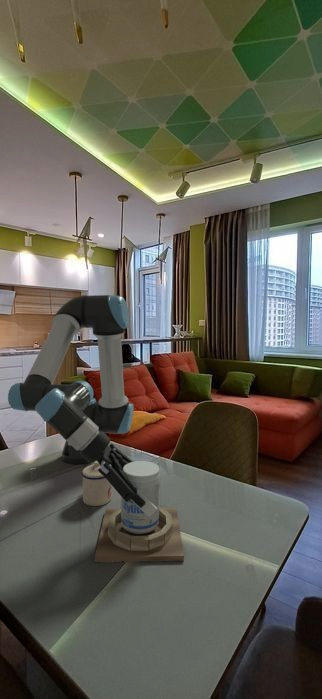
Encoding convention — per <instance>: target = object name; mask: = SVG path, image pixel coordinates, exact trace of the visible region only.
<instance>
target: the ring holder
mask: <svg viewBox="0 0 322 699" xmlns="http://www.w3.org/2000/svg"><path fill="white" fill-rule="evenodd" d="M178 515H179V514H178V509H177V507H162V506H160V505H159V523H158V525H157V527H156V528H155V529H154V530H153V531H151V532H148V533H144V534H134V533H130V532H128V531H127V530H125V529H124V528H123V526H122V524H121V507H119V508H105V511H104V515H103V519H102V525H101V529H100V532H99V537H98V542H97V544H96V551H95V553H94V554H95V555H94V563H95V562H100V563H113V562H112V561H116V562H115V563H122V562H121V561H124V562H123V563H133V562H135V563H136V562H137V563H138V562H139V563H140V561H151V562H183V561H185V555H184V553H185V552H184V548H183V541H182V535H181V529H180V528H181V527H180V522H179V516H178ZM109 561H110V562H109Z"/></svg>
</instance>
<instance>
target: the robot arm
mask: <svg viewBox="0 0 322 699" xmlns="http://www.w3.org/2000/svg"><path fill="white" fill-rule="evenodd" d="M126 302H127V301H126V300H125V298H124V297H122V296H121V295H114V294H102V295H101V294H100V295H86V294H85V295H78V296H76V297H74V298H71V299H70V300H68V301H67V302H65V303H64V304H63V305H62V306H61V307H60V308H59V309H58V310H57V311H56V312H55V314H54V316H53V318H52V321H51V324H52V327H51V329H50V331H49V333H48V335H47V336H46V339H45V341H44V342H43V344H42V346H41V348H40V351H39V353H38V355H37V357H36V359H35V360H34V363H32V366H31V369H30V370H29V372H28V374H27V377H25V380H24V381H23V382H16V383H14V384H13V385H11V386H10V387H9V390H8V393H7V394H8V395H7V402H8V404H9V406H10V408H12V409H13V410H16V411H25V412H30V411H31V412H33V411H34V412H36V413H37V414H38V415H39V416H40V417H41V418H42V420H43V421H44V422H46V423H47V424H48V425H49V426H50V427H51V428H52V429H53V430H54V431H55V432H57V434H59V435H60V436H61V437H62V438H63V439H64V440H65V443H64V445H63V449H62V450H61V451H62V452H61V460H62V461H63V462H65V463H67V464H72V465H82V464H83V465H84V464H88V463H92V462H93V463H94V462H95V461H97V462H98V463H99V464H100V466H101V467H100V468H99V469H98V471H99V472H100V473H101V474H102V475H103V476H104V477H105V478H106V479H107V480H108V481H109V483H110V484H111V485H112V488H113V489H115V491H116V492H117V493H118V494H119V495H120V496H121V499H122V498H123V499H124V500H125V501H126V502H128V501H129V500H131V501H132V502H133V503H135V504H136V505H137V506H138V507H139V508H140V509H141V510H142V511H143V512H144V513H145V514H146V515H147V516H148V517H150V516H151V515H152V514H153V513H154V512H155V511H156V510H157V507H156V506H155V505H154V504H153V503H152V502H151V501H149V500H148V499H147V498H146V497H145V496H144V495H143V494H142V493H141V492H140V491H139V490H137V491H136V489H135V488H134V487H133V485H132V484H131V482H130V481H129V480H128V478H127V477H126V476H125V474H124V473H123V467H124V466H125V465H126V464H128V463H131V462H134V461H133V460H132V459H131V458H130V457H128V456H127V455H126V454H125V453H123V452H122V451H121V450H120V449H119V448H117V447H116V445H115V444H113V442H112V443H111V437H109V436H108V435H107V434H117V435H118V434H119V435H120V434H127V433H128V432H130V429H131V427H132V423H133V416H134V409H135V408H134V404H133V403H129V402H130V401H129V398H128V396H127V395H125V386H124V382H125V381H124V365H123V350H122V349H123V348H122V336H123V335H124V334H125V333H126V330H127V329H128V328H129V326H130V312H129V308H128V304H127V303H126ZM85 328H86V329H92V335H93V336H95V337H96V338H97V348H98V359H99V360H98V361H99V372H100V374H99V375H100V376H99V377H100V386H101V397H100V398H99V400H98V402H97V400H96V398H95V397H94V389H93V387H92V386H91V385H90V383H88V382H87V381H85V380H76V381H74V382H72V383H70V384H64V383H63V384H58V383H57V384H55V380H56V378H57V376H58V373H59V371H60V369H61V367H62V364H63V362H64V359H65V356H66V354H67V352H68V350H69V348H70V346H71V343H72V341H73V338H74V336H75V335H78V333H79V332H80V330H81V329H85ZM110 443H111V444H110Z"/></svg>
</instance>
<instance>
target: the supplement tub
mask: <svg viewBox="0 0 322 699" xmlns="http://www.w3.org/2000/svg"><path fill="white" fill-rule="evenodd" d="M123 473H124V474H125V476H126V477H127V478H128V480H129V481H130V482H131V484H132V485H133V487H134V488H135V489H136V491H137V490H139V491H140V492H141V493H142V494H143V495H144V496H145V497H146V498H147V499H148V500H149V501H151V502H152V503H153V504H154V505H155V506H156V507H157V510H156V511H155V512H154V513H153V514H152V515H151V516H150V517H148V516H147V515H146V514H145V513H144V512H143V511H142V510H141V509H140V508H139V507H138V506H137V505H136V504H135V503H133V502H132V501H131V500H129V501H128V502H126V501H125V500H124V499H123V498H122V497H121V502H120V503H121V505H120V506H121V507H120V508H121V524H122V526H123V528H124V529H125V530H127V531H128V532H130V533H134V534H144V533H148V532H151V531H153V530H154V529H155V528H156V527H157V525H158V523H159V506H160V491H161V490H160V488H161V487H160V486H161V481H160V479H161V472H160V466H159V465H158V464H156V463H154V462H151V461H147V460H136V461H133V462H131V463H128V464H126V465H125V466H124V467H123Z"/></svg>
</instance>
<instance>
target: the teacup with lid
mask: <svg viewBox="0 0 322 699" xmlns="http://www.w3.org/2000/svg"><path fill="white" fill-rule="evenodd" d="M100 467H101V466H100V464H99V463H98V462H97V460H95V461H93V463H92V464H91V465H87V466H86V467H84V469H82V471H81V476H82V501H83V503H84V504H86V506H90V507H101V506H104V505H106V504H107V503H109V502H110V501H112V497H113V496H112V494H113V493H112V491H113V490H112V489H113V486H112V485H111V484H110V483H109V481H108V480H107V479H106V478H105V477H104V476H103V475H102V474H101V473H100V472H99V471H98V469H99V468H100Z"/></svg>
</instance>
